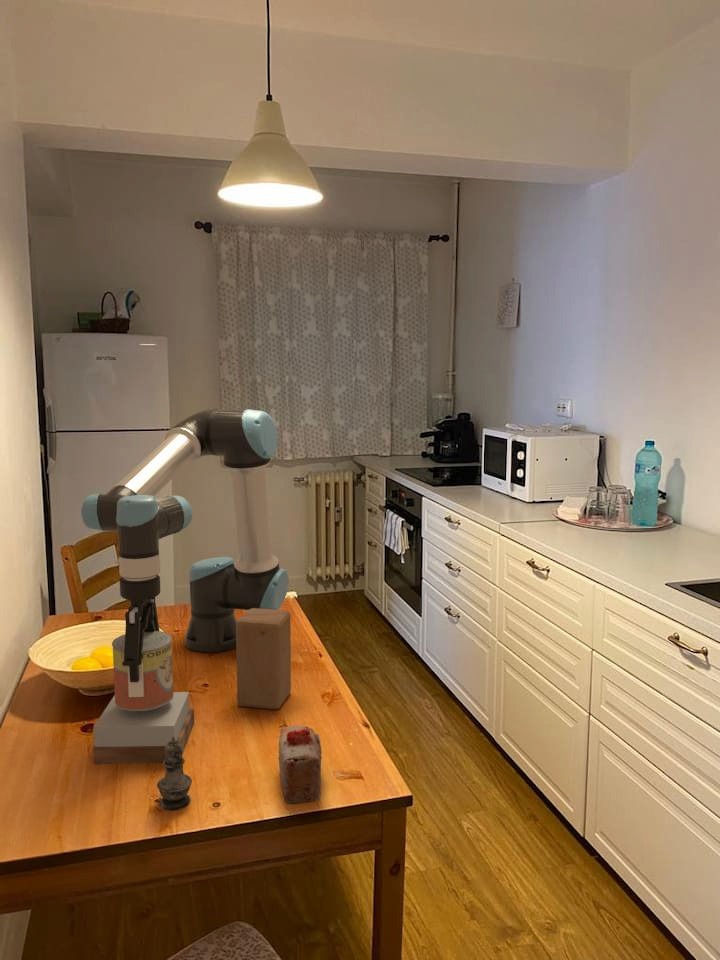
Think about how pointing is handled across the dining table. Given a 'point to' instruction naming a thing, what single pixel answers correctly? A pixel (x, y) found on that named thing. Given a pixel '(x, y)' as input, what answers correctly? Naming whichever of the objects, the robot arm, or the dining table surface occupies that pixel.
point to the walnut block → (141, 749)
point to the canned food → (145, 673)
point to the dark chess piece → (174, 779)
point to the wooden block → (263, 658)
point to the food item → (300, 763)
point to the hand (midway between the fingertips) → (144, 683)
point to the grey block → (141, 724)
